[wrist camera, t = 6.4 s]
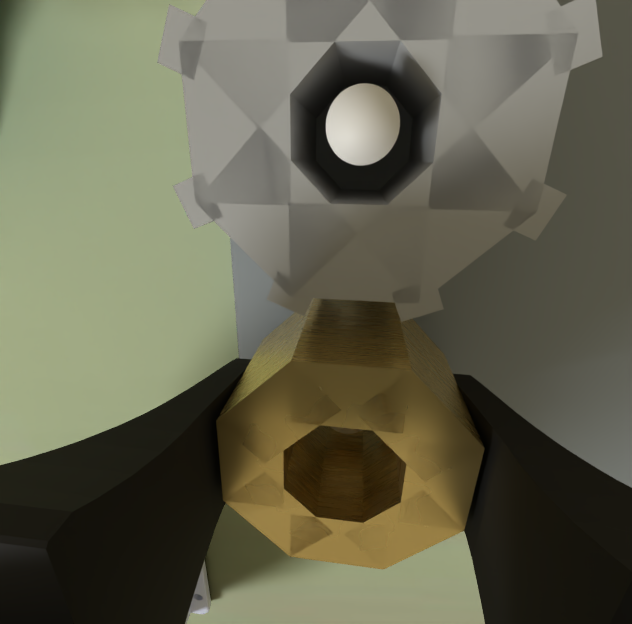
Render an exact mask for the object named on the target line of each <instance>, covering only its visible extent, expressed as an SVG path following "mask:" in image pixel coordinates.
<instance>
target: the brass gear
mask: <svg viewBox="0 0 632 624" xmlns="http://www.w3.org/2000/svg"><path fill="white" fill-rule="evenodd" d="M216 425H217V437H218V448H219V460H220V472H221V483H222V495H223V501H224V502H225V503H227V504H228V505H229V506H230V507H231V508H233V509H234V510H235V511H236V512H237V513H239V514H240V515H241V516H242V517H243V518H245V519H246V520H247V521H248V522H249V523H251V524H252V525H253V526H254V527H255V528H257V529H258V530H259V531H260V532H261V533H263V534H264V535H265V536H266V537H267V538H269V539H270V540H271V541H272V542H273V543H275V544H276V545H277V546H278V547H279V548H281V549H282V550H283V551H284V552H285V553H287V554H288V555H289V556H290V557H297V558H304V559H311V560H319V561H326V562H333V563H341V564H348V565H355V566H363V567H370V568H377V569H385V568H387V567H389V566H392V565H394V564H396V563H398V562H400V561H402V560H404V559H406V558H408V557H410V556H412V555H414V554H416V553H418V552H421V551H423V550H425V549H427V548H429V547H431V546H433V545H435V544H437V543H439V542H441V541H443V540H445V539H447V538H450V537H452V536H454V535H456V534H458V533H460V532H462V531H464V530H465V526H466V522H467V518H468V514H469V510H470V506H471V502H472V498H473V494H474V490H475V485H476V481H477V477H478V473H479V469H480V465H481V461H482V457H483V453H484V449H485V448H484V446H483V443H482V441H481V439H480V436H479V434H478V432H477V429H476V427H475V425H474V422H473V420H472V418H471V415H470V413H469V411H468V408H467V406H466V404H465V401H464V399H463V397H462V394H461V392H460V390H459V388H458V386H457V383H456V380H455V378H454V376H453V373H452V371H451V369H450V366H449V364H448V362H447V359H446V357H445V355H444V353H443V352H442V351H441V350H440V349H439V348H438V346H437V345H436V344H435V343H434V342H433V341H432V340H431V339H430V338H429V336H428V335H427V334H426V333H425V332H424V331H423V330H422V329H421V327H420V326H419V325H418V324H417V323H416V322H415V321H414V320H413V319H409V320H406V321H403V322H401V320H400V317H399V314H398V311H397V308H396V305H395V302H376V301H357V300H338V299H320V298H313V299H312V301H311V303H310V305H309V307H308V310H307V312H306V314H305V316H302V315H300V314H298V313H296V312H294V313H293V314H292V315H291V316H290V317H288V318H287V319H286V320H285V321H284V322H283V323H282V324H280V325H279V326H278V327H277V328H276V329H275V330H273V331H272V332H271V333H270V334H269V335H268V336H266V337H265V338H264V339H263V340H262V342H261V344H260V346H259V347H258V349H257V351H256V353H255V354H254V356H253V358H252V359H251V361H250V363H249V365H248V366H247V368H246V370H245V372H244V373H243V375H242V377H241V379H240V380H239V382H238V384H237V386H236V387H235V389H234V391H233V393H232V394H231V396H230V398H229V399H228V401H227V403H226V405H225V406H224V408H223V410H222V412H221V413H220V415H219V417H218V419H217V420H216ZM330 426H332V427H342V428H352V429H362V430H361V431H359V432H357V433H353V434H344V433H340V432H338V431H336V430H334V429H333V428H331V427H330Z"/></svg>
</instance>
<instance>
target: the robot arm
mask: <svg viewBox="0 0 632 624" xmlns="http://www.w3.org/2000/svg"><path fill="white" fill-rule="evenodd" d="M250 361H251V359H239V358H237V359H235V360H233V361H231V362H230V363H228V364H226V365H225V366H223V367H222V368H220V369H219V370H217V371H216V372H214V373H213V374H211V375H210V376H208V377H207V378H205V379H203V380H202V381H200V382H199V383H197V384H196V385H194V386H193V387H191V388H189V389H188V390H186V391H184V392H183V393H181V394H179V395H178V396H176V397H174V398H172V399H171V400H169V401H167V402H166V403H164V404H162V405H160V406H158V407H157V408H155V409H153V410H151V411H149V412H147V413H145V414H143V415H141V416H139V417H137V418H134V419H132V420H130V421H128V422H126V423H124V424H121V425H119V426H117V427H114V428H112V429H109V430H107V431H104V432H102V433H99V434H97V435H94V436H92V437H89V438H87V439H84V440H81V441H79V442H76V443H73V444H70V445H67V446H64V447H61V448H58V449H55V450H52V451H49V452H46V453H42V454H39V455H36V456H33V457H29V458H26V459H22V460H19V461H15V462H11V463H7V464H3V465H0V624H187V621H188V618H189V616H190V613H198V614H205V613H207V612H208V611H209V609H210V606H211V599H210V592H209V585H208V579H207V572H206V565H205V557H206V554H207V551H208V548H209V545H210V542H211V539H212V536H213V533H214V530H215V527H216V524H217V522H218V519H219V517H220V514H221V511H222V509H223V507H224V505H225V502H224V501H223V495H222V483H221V472H220V460H219V448H218V437H217V425H216V420H217V419H218V417H219V415H220V413H221V412H222V410H223V408H224V406H225V405H226V403H227V401H228V399H229V398H230V396H231V394H232V393H233V391H234V389H235V387H236V386H237V384H238V382H239V380H240V379H241V377H242V375H243V373H244V372H245V370H246V368H247V366H248V365H249V363H250ZM453 376H454V378H455V380H456V383H457V386H458V388H459V390H460V392H461V394H462V397H463V399H464V401H465V404H466V406H467V408H468V411H469V413H470V415H471V418H472V420H473V422H474V425H475V427H476V429H477V432H478V434H479V436H480V439H481V441H482V443H483V446H484V448H485V449H484V453H483V457H482V461H481V465H480V469H479V473H478V477H477V481H476V485H475V490H474V494H473V498H472V502H471V506H470V510H469V514H468V518H467V522H466V526H465V530H464V531H465V534H466V537H467V541H468V545H469V548H470V552H471V556H472V560H473V565H474V570H475V574H476V579H477V584H478V589H479V594H480V599H481V604H482V609H483V614H484V619H485V624H632V488H631V487H629V486H627V485H626V484H624V483H622V482H620V481H618V480H616V479H615V478H613V477H611V476H609V475H608V474H606V473H604V472H603V471H601V470H599V469H597V468H596V467H594V466H593V465H591V464H589V463H588V462H586V461H585V460H583V459H581V458H580V457H578V456H577V455H575V454H573V453H572V452H570V451H569V450H567V449H566V448H564V447H563V446H561V445H560V444H558V443H557V442H555V441H554V440H553V439H551V438H550V437H549V436H547V435H546V434H544V433H543V432H542V431H540V430H539V429H537V428H536V427H535V426H533V425H532V424H531V423H529V422H528V421H527V420H525V419H524V418H523V417H522V416H520V415H519V414H518V413H517V412H515V411H514V410H513V409H512V408H510V407H509V406H508V405H507V404H505V403H504V402H503V401H502V400H501V399H499V398H498V397H497V396H496V395H495V394H493V393H492V392H491V391H490V390H489V389H487V388H486V387H485V386H484V385H483V384H481V383H480V382H479V381H478V380H476V379H475V378H474V377H472V376H471V375H464V374H453Z"/></svg>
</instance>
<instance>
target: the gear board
mask: <svg viewBox="0 0 632 624" xmlns="http://www.w3.org/2000/svg"><path fill="white" fill-rule="evenodd" d="M157 63H159V64H161V65H163V66H165V67H167V68H170V69H172V70H174V71H176V72H178V73H180V74H182V81H183V91H184V100H185V110H186V119H187V129H188V138H189V148H190V157H191V166H192V176H193V177H191V178H189V179H187V180H185V181H182V182H180V183H178V184H176V185H174V186H173V188H174V190H175V192H176V194H177V196H178V198H179V200H180V202H181V204H182V206H183V208H184V210H185V212H186V214H187V216H188V218H189V220H190V222H191V224H192V226H193V228H194V229H195V228H197V227H200V226H202V225H205V224H207V223H210V222H212V221H214V222H215V223H216V224H217V225H218V226H219V227H220V228H221V229H222V230H223V231H224V232H225V233H226V234H227V235H228V236H229V237H230V242H231V255H232V269H233V282H234V296H235V309H236V323H237V336H238V350H239V359H252V358H253V356H254V354H255V353H256V351H257V349H258V347H259V346H260V344H261V342H262V340H263V339H264V338H265V337H266V336H268V335H269V334H270V333H271V332H272V331H273V330H275V329H276V328H277V327H278V326H279V325H280V324H282V323H283V322H284V321H285V320H286V319H287V318H288V317H290V316H291V315H292V314H293V313H294V312H296V313H298V314H300V315H302V316H305V314H306V312H307V310H308V307H309V305H310V303H311V301H312V299H313V298H320V299H338V300H357V301H376V302H395V305H396V308H397V311H398V314H399V317H400V320H401V322H403V321H406V320H409V319H413V320H414V321H415V322H416V323H417V324H418V325H419V326H420V327H421V329H422V330H423V331H424V332H425V333H426V334H427V335H428V336H429V338H430V339H431V340H432V341H433V342H434V343H435V344H436V345H437V346H438V348H439V349H440V350H441V351H442V352H443V353H444V355H445V357H446V359H447V362H448V364H449V366H450V369H451V371H452V373H453V374H464V375H471V376H472V377H474V378H475V379H476V380H478V381H479V382H480V383H481V384H483V385H484V386H485V387H486V388H487V389H489V390H490V391H491V392H492V393H493V394H495V395H496V396H497V397H498V398H499V399H501V400H502V401H503V402H504V403H505V404H507V405H508V406H509V407H510V408H512V409H513V410H514V411H515V412H517V413H518V414H519V415H520V416H522V417H523V418H524V419H525V420H527V421H528V422H529V423H531V424H532V425H533V426H535V427H536V428H537V429H539V430H540V431H542V432H543V433H544V434H546V435H547V436H549V437H550V438H551V439H553V440H554V441H555V442H557V443H558V444H560V445H561V446H563V447H564V448H566V449H567V450H569V451H570V452H572V453H573V454H575V455H577V456H578V457H580V458H581V459H583V460H585V461H586V462H588V463H589V464H591V465H593V466H594V467H596V468H597V469H599V470H601V471H603V472H604V473H606V474H608V475H609V476H611V477H613V478H615V479H616V480H618V481H620V482H622V483H624V484H626V485H627V486H629V487H631V488H632V0H206V1H205V3H204V4H203V6H202V7H201V9H200V10H199V12H198V13H197V14H196V16H193V15H191V14H189V13H187V12H185V11H183V10H181V9H179V8H177V7H174V6H172V5H170V4H169V8H168V13H167V18H166V23H165V27H164V32H163V37H162V42H161V47H160V52H159V56H158V61H157ZM330 427H331V428H333V429H334V430H336V431H338V432H340V433H344V434H353V433H357V432H359V431H361V430H362V429H352V428H342V427H332V426H330Z"/></svg>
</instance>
